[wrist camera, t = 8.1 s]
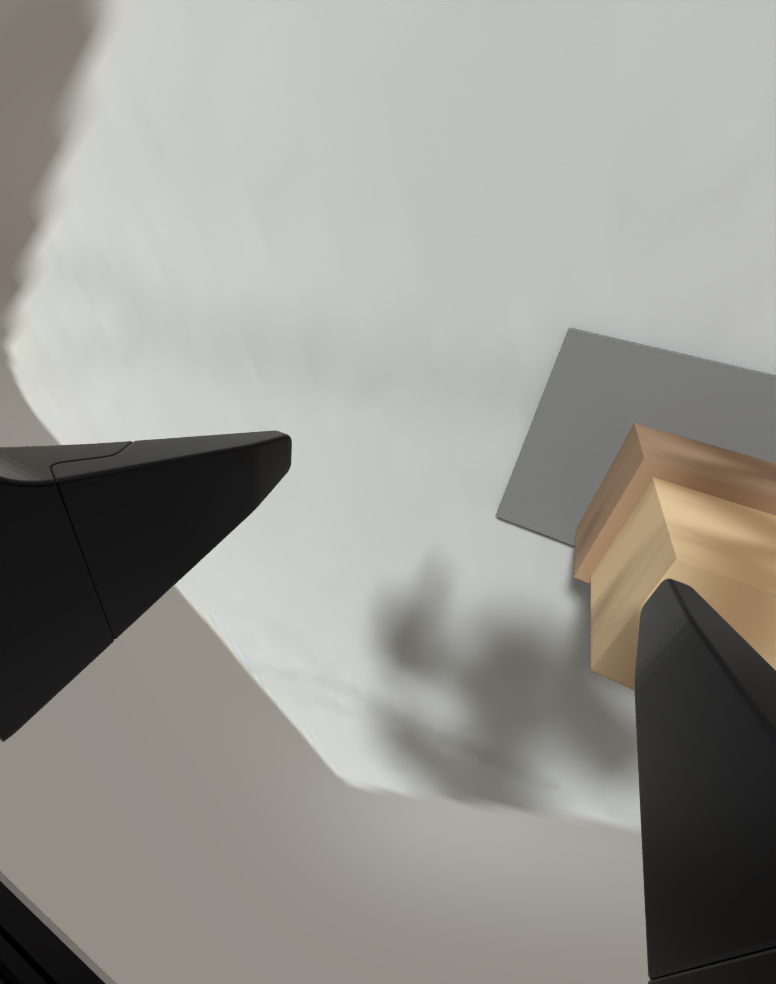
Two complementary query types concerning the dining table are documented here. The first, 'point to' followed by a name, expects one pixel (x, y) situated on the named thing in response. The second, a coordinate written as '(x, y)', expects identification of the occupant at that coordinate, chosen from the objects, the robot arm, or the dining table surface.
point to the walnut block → (674, 463)
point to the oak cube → (684, 571)
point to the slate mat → (626, 421)
